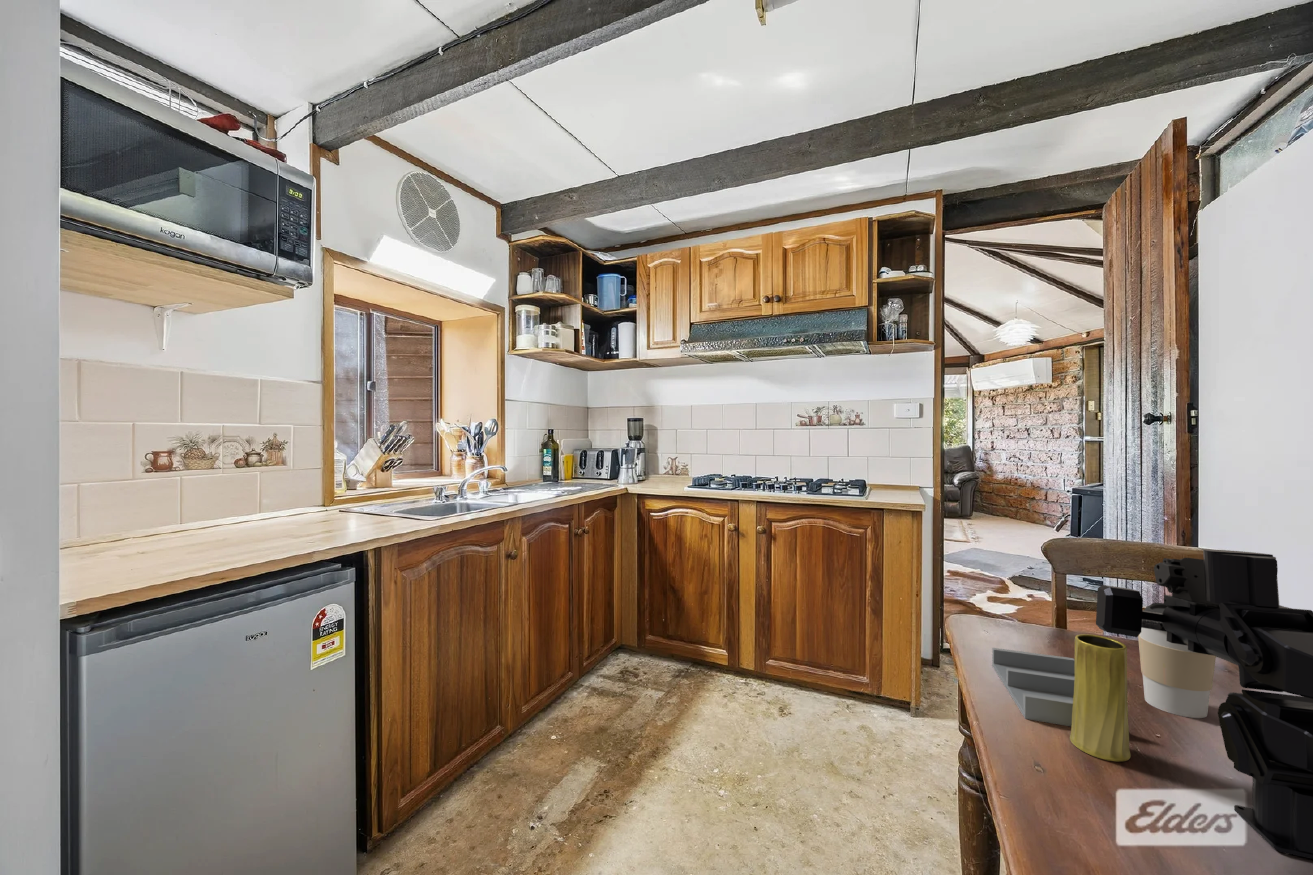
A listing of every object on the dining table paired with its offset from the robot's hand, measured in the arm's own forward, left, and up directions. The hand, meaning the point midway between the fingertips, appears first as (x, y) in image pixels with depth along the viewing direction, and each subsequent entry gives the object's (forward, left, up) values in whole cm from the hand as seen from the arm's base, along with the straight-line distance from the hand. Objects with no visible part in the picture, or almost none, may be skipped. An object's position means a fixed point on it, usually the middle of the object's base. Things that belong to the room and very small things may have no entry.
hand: (1145, 607), depth 78 cm
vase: (-13, +10, -16) cm, 23 cm away
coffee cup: (+5, -6, -16) cm, 18 cm away
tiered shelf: (+1, +11, -16) cm, 20 cm away
